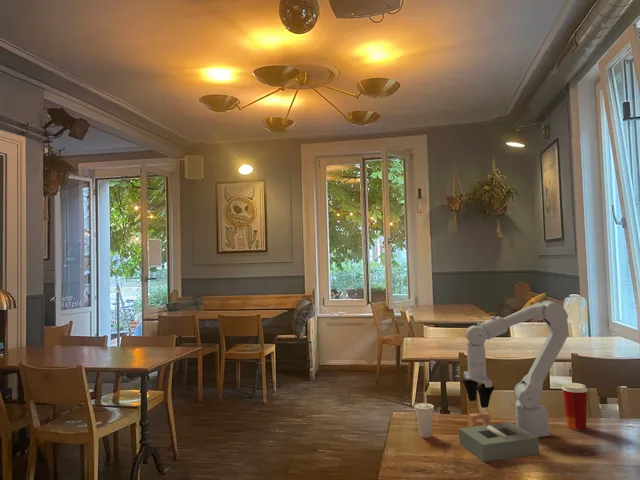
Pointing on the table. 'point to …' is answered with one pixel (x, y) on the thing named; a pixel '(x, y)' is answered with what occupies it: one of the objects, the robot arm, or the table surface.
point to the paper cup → (575, 405)
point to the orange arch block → (482, 416)
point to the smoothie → (424, 418)
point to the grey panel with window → (498, 441)
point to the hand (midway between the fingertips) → (478, 403)
